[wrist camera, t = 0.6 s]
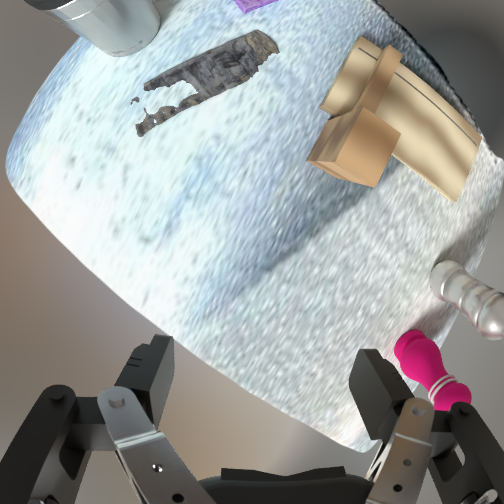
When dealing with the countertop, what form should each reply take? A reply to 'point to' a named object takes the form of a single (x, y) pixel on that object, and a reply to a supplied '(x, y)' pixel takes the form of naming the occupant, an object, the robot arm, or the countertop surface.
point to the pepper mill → (429, 370)
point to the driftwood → (211, 74)
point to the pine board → (410, 120)
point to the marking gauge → (360, 131)
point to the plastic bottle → (470, 298)
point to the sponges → (252, 4)
